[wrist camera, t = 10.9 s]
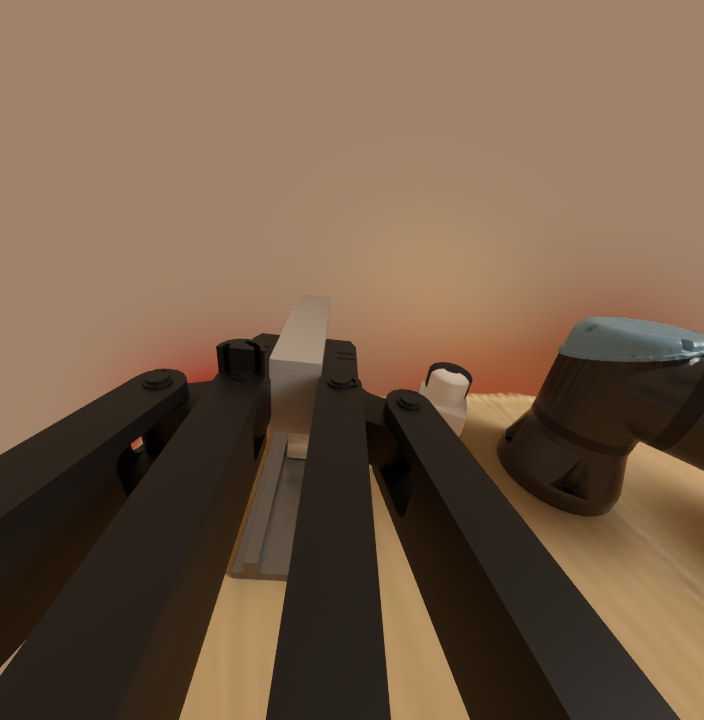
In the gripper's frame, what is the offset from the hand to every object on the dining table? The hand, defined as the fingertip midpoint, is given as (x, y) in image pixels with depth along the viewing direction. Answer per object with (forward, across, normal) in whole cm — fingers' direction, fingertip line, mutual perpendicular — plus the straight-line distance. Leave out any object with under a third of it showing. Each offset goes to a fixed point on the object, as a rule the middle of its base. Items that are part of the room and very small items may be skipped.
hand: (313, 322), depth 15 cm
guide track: (+11, 0, -25) cm, 28 cm away
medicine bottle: (+22, +18, -26) cm, 39 cm away
